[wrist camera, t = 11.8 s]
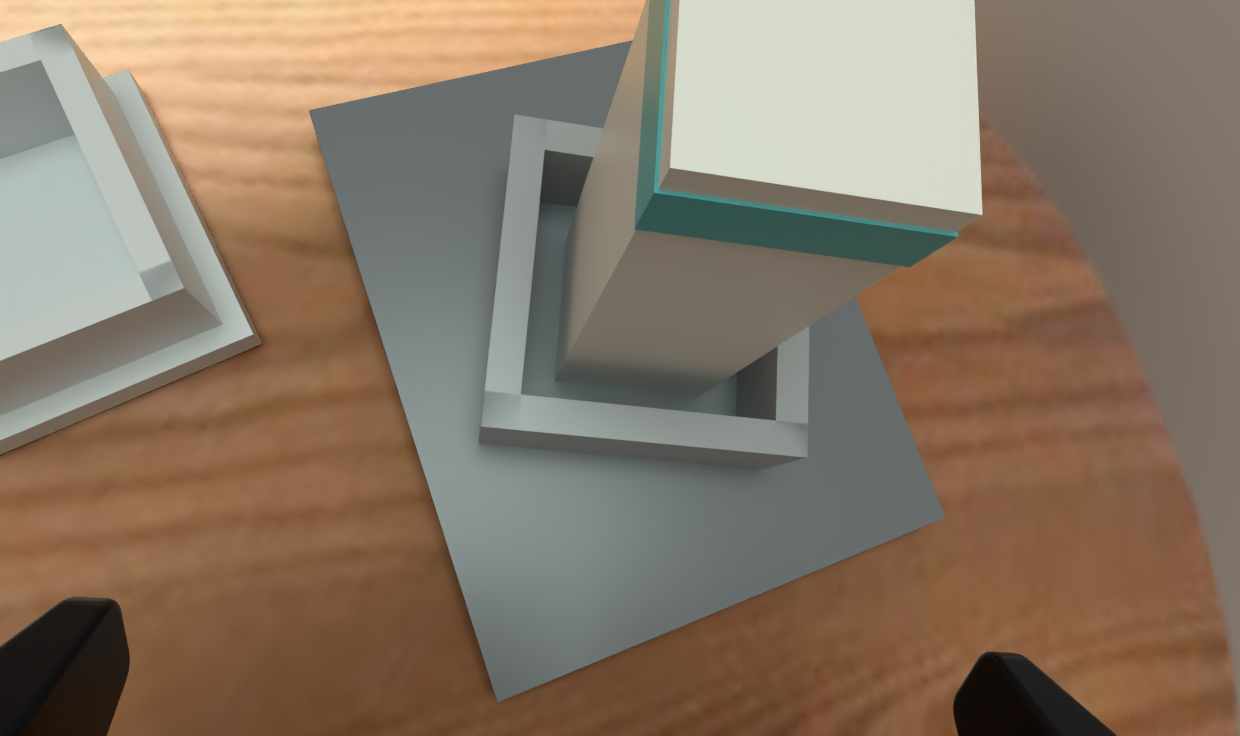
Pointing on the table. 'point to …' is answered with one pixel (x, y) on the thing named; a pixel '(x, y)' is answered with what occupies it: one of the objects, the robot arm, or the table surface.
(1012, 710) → the robot arm
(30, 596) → the table surface
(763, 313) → the plug
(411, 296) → the port panel
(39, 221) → the holster
